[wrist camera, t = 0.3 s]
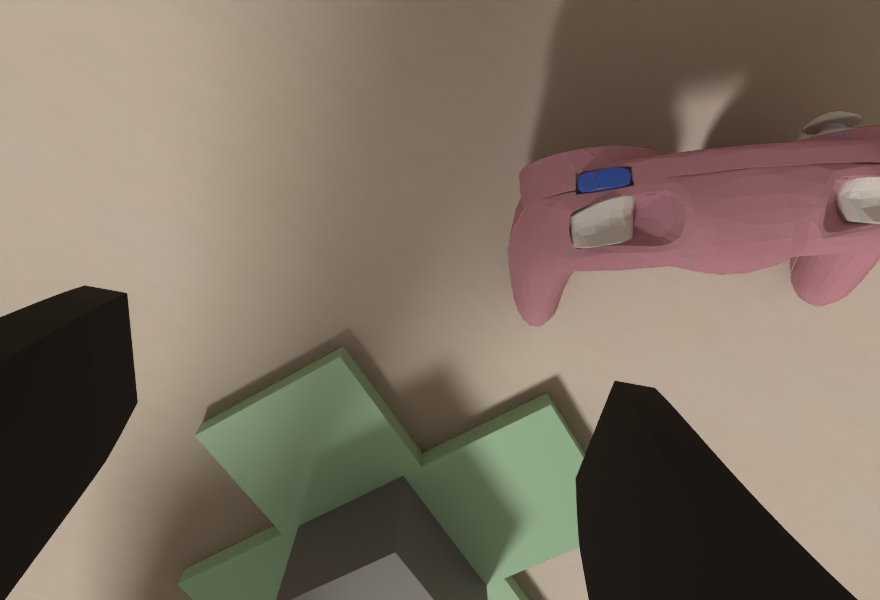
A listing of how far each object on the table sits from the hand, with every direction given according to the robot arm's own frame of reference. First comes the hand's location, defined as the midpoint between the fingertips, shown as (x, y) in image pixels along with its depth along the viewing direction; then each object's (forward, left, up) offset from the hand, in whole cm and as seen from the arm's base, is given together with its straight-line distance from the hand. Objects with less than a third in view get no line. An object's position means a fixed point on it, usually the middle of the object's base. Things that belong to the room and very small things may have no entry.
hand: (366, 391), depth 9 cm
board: (-7, -11, -10) cm, 17 cm away
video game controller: (+7, -4, -11) cm, 13 cm away
